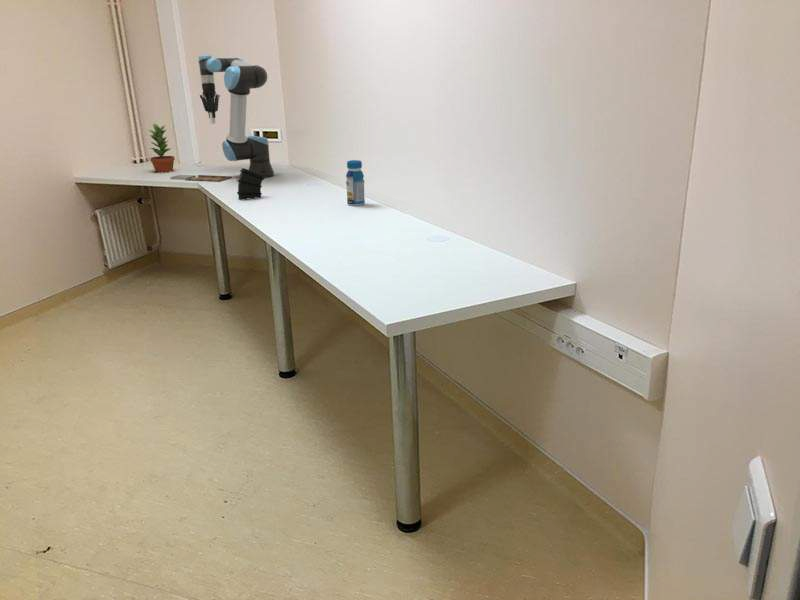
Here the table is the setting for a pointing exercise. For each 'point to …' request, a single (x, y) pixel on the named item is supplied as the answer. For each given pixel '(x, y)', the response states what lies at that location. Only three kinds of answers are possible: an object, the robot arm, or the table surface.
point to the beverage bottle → (355, 183)
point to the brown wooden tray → (209, 178)
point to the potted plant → (161, 151)
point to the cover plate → (183, 177)
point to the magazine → (249, 184)
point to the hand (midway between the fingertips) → (213, 123)
